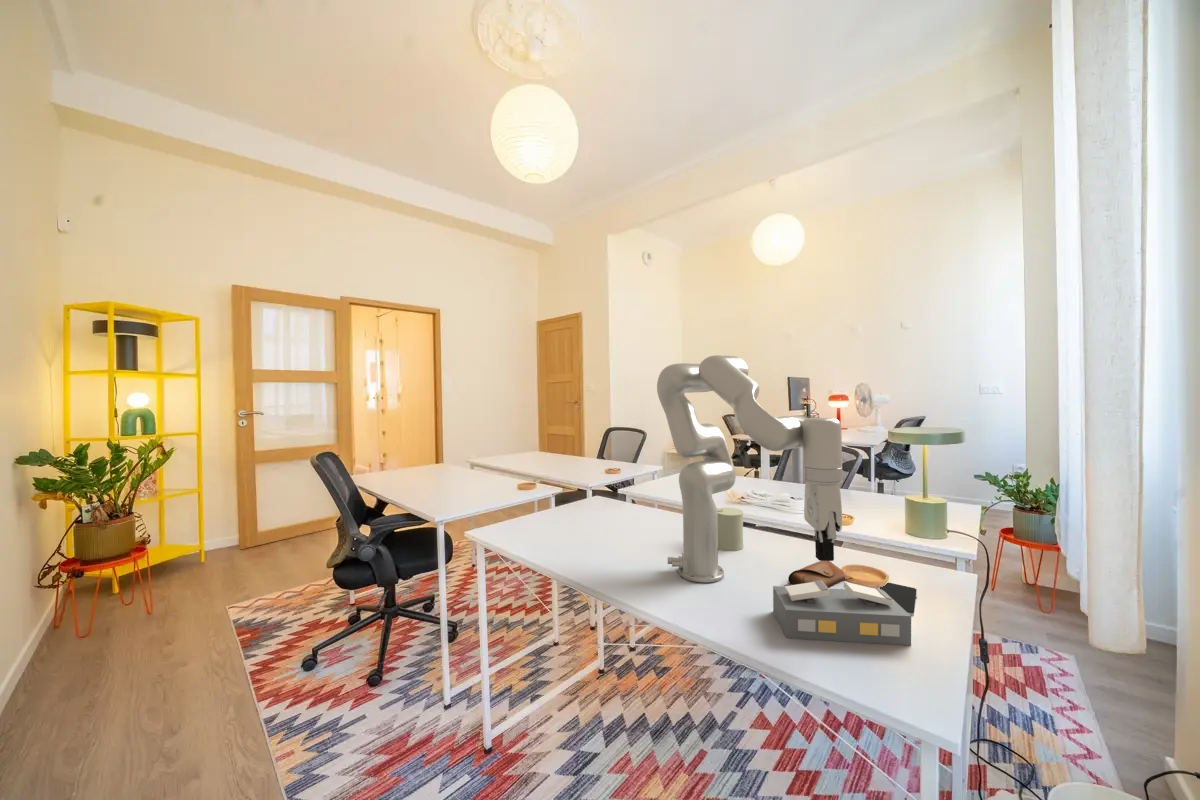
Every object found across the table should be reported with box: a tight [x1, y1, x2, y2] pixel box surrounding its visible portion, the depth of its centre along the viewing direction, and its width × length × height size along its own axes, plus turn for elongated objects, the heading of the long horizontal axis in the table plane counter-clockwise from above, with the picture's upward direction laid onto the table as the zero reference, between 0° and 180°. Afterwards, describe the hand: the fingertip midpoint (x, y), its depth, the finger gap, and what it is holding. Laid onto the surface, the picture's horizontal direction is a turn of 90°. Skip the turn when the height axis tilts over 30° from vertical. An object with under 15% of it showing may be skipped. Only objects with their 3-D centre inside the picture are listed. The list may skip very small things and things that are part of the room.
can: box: [717, 507, 744, 552], centre depth 146 cm, size 9×9×12 cm
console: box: [772, 585, 912, 647], centre depth 96 cm, size 24×11×7 cm, turn 82°
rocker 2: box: [843, 581, 893, 606], centre depth 95 cm, size 8×4×1 cm, turn 82°
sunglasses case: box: [787, 560, 846, 589], centre depth 120 cm, size 18×7×7 cm, turn 125°
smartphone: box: [877, 582, 918, 617], centre depth 108 cm, size 8×1×15 cm
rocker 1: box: [784, 580, 830, 601], centre depth 97 cm, size 8×4×1 cm, turn 81°
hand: (824, 559), depth 96 cm, fingers closed
